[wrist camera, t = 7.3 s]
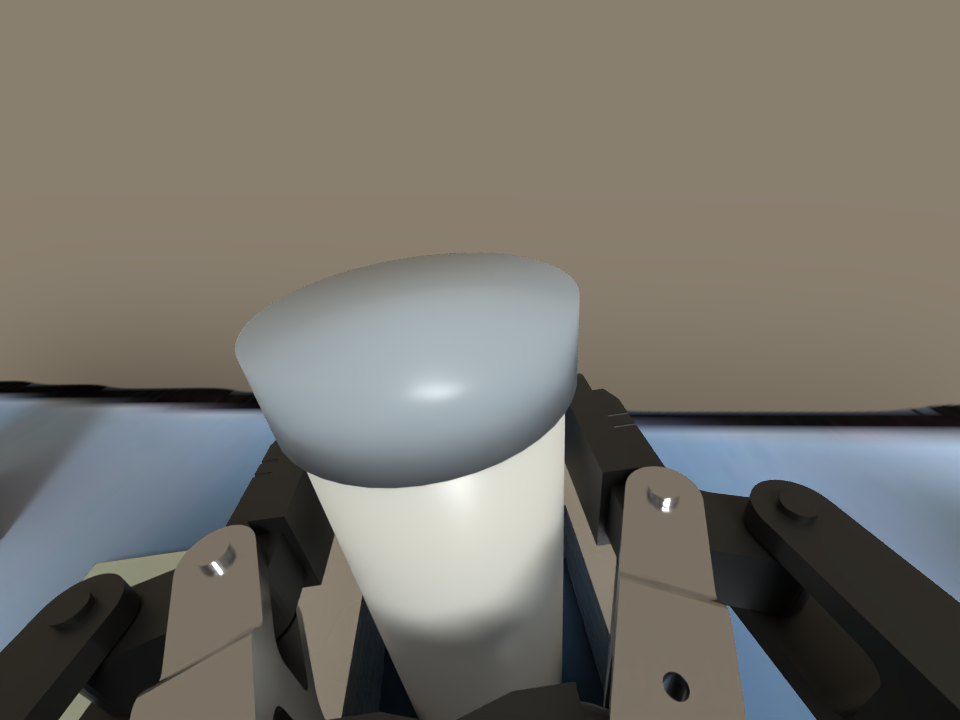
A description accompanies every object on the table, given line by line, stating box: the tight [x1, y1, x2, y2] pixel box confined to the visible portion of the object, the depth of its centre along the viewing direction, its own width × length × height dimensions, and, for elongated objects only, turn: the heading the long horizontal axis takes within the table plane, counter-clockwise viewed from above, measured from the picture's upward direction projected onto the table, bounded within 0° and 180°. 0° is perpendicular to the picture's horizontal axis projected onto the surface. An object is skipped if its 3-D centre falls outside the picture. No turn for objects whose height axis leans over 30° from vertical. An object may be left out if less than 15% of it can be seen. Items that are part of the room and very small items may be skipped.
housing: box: [298, 462, 616, 720], centre depth 13 cm, size 12×12×4 cm
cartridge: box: [235, 253, 580, 720], centre depth 10 cm, size 5×5×14 cm
